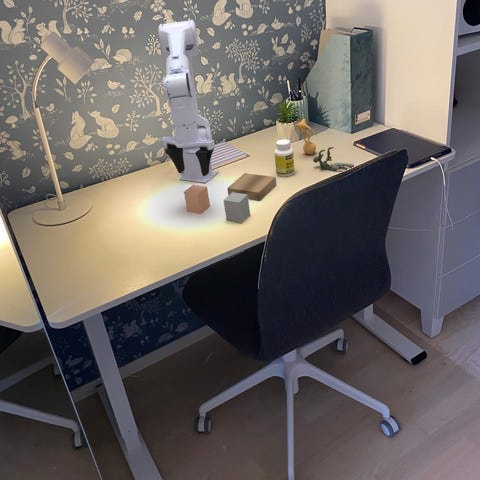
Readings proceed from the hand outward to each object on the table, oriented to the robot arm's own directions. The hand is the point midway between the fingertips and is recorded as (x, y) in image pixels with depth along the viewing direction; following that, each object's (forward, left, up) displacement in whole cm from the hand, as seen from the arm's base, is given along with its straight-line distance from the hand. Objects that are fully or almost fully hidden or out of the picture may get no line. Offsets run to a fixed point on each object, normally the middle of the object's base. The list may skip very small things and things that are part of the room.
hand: (193, 173), depth 142 cm
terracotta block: (0, 0, -11) cm, 11 cm away
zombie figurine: (+27, +33, -11) cm, 44 cm away
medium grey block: (+13, -1, -11) cm, 17 cm away
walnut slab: (+9, +14, -11) cm, 20 cm away
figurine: (+14, +41, -11) cm, 44 cm away
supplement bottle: (+13, +27, -11) cm, 32 cm away
